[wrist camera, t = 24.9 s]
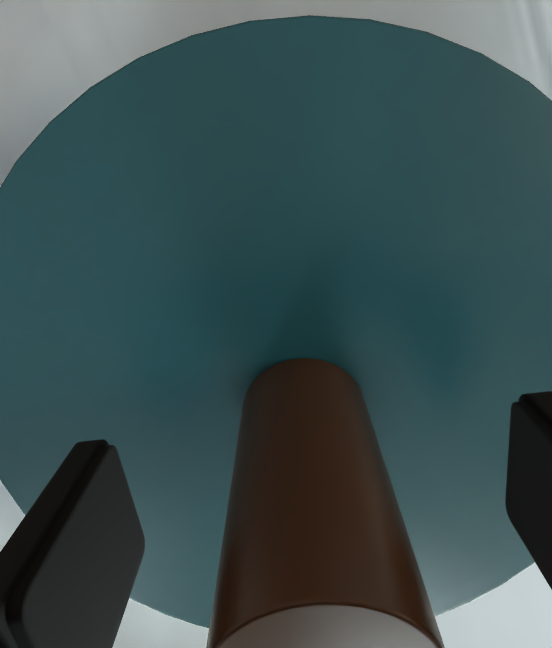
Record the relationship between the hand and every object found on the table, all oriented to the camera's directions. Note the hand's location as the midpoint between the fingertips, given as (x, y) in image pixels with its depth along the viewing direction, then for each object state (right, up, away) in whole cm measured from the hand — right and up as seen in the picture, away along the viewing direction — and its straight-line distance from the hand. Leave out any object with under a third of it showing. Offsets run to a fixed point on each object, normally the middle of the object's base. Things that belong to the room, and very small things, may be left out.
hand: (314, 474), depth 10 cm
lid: (0, +1, +2) cm, 3 cm away
